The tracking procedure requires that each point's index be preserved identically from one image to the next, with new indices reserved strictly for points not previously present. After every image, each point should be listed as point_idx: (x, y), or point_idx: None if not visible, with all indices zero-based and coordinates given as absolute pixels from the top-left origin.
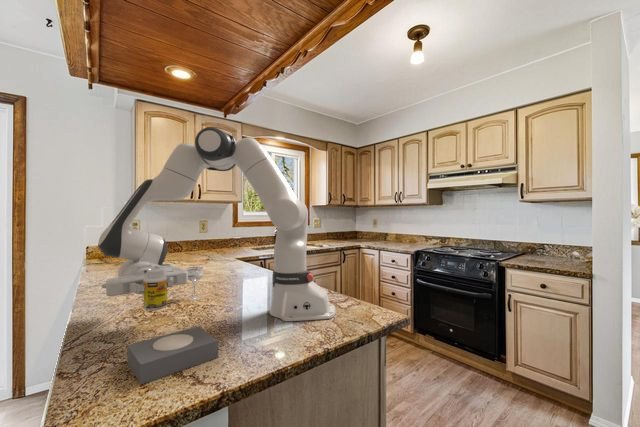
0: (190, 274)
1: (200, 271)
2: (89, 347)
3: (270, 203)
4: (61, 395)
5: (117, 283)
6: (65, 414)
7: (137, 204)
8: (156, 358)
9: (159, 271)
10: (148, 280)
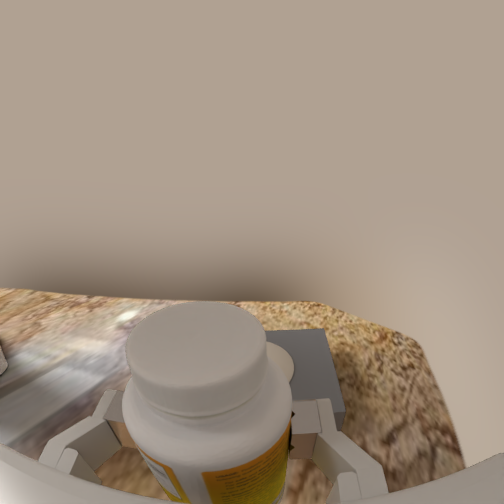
0: None
1: None
2: None
3: None
4: (428, 380)
5: (470, 466)
6: (405, 342)
7: None
8: (297, 332)
9: (191, 305)
10: (269, 358)
